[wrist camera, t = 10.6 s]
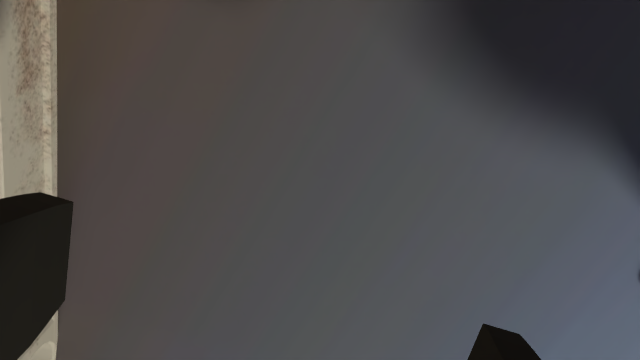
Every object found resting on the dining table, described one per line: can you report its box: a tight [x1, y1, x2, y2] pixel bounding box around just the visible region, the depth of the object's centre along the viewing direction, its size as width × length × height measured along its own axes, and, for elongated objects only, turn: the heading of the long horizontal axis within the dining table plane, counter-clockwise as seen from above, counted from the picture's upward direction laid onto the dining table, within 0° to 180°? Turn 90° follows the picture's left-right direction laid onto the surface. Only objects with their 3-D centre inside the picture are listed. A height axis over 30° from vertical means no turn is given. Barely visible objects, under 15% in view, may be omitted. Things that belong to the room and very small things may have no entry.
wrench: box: [0, 0, 58, 360], centre depth 16 cm, size 8×2×30 cm
